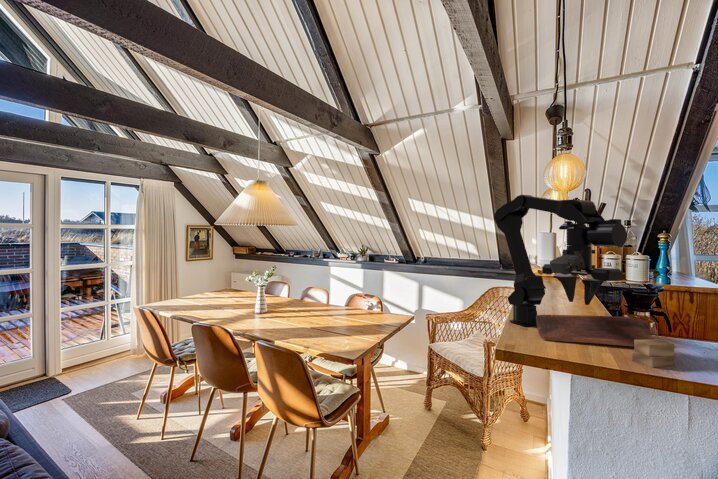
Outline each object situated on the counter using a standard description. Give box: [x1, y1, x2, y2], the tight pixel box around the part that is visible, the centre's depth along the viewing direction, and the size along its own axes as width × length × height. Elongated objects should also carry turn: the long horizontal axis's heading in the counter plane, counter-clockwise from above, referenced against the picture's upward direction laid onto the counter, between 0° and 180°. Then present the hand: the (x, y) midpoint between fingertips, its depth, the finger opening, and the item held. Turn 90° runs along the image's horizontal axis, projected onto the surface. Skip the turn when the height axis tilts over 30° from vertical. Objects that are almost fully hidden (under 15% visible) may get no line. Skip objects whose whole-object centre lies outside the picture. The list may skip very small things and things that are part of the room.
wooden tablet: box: [536, 314, 653, 348], centre depth 88 cm, size 26×2×10 cm
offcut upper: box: [633, 338, 675, 356], centre depth 73 cm, size 4×6×2 cm, turn 95°
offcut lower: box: [631, 350, 676, 368], centre depth 73 cm, size 4×7×2 cm, turn 107°
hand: (578, 303), depth 89 cm, fingers open, 4 cm apart
